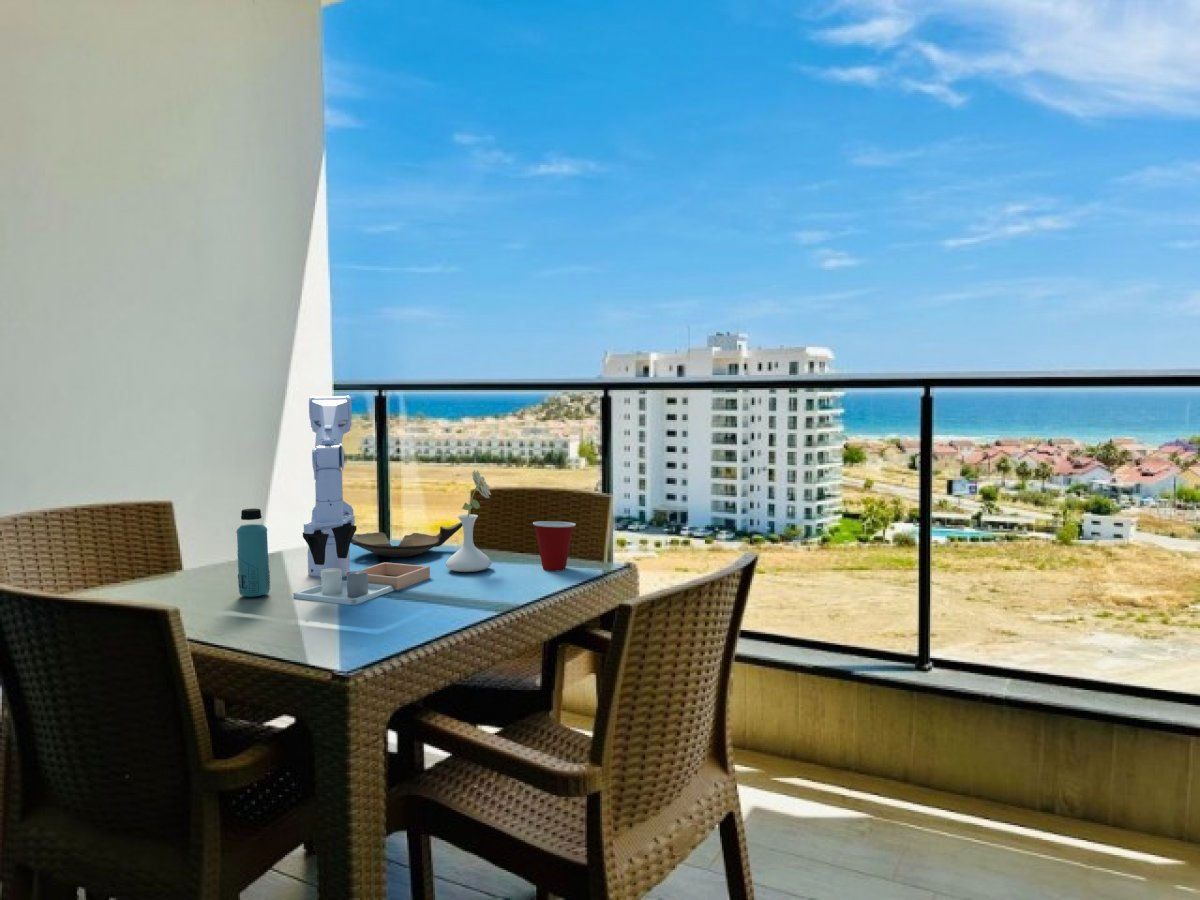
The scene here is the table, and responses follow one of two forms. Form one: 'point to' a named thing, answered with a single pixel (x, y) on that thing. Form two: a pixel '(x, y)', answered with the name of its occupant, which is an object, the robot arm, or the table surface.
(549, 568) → the plastic cup
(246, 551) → the beverage bottle
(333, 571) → the pale grey cylinder
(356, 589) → the grey plastic cylinder
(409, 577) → the terracotta dish
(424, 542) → the dark brown curved bowl
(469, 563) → the flower in vase
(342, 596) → the parts tray
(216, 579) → the table surface
